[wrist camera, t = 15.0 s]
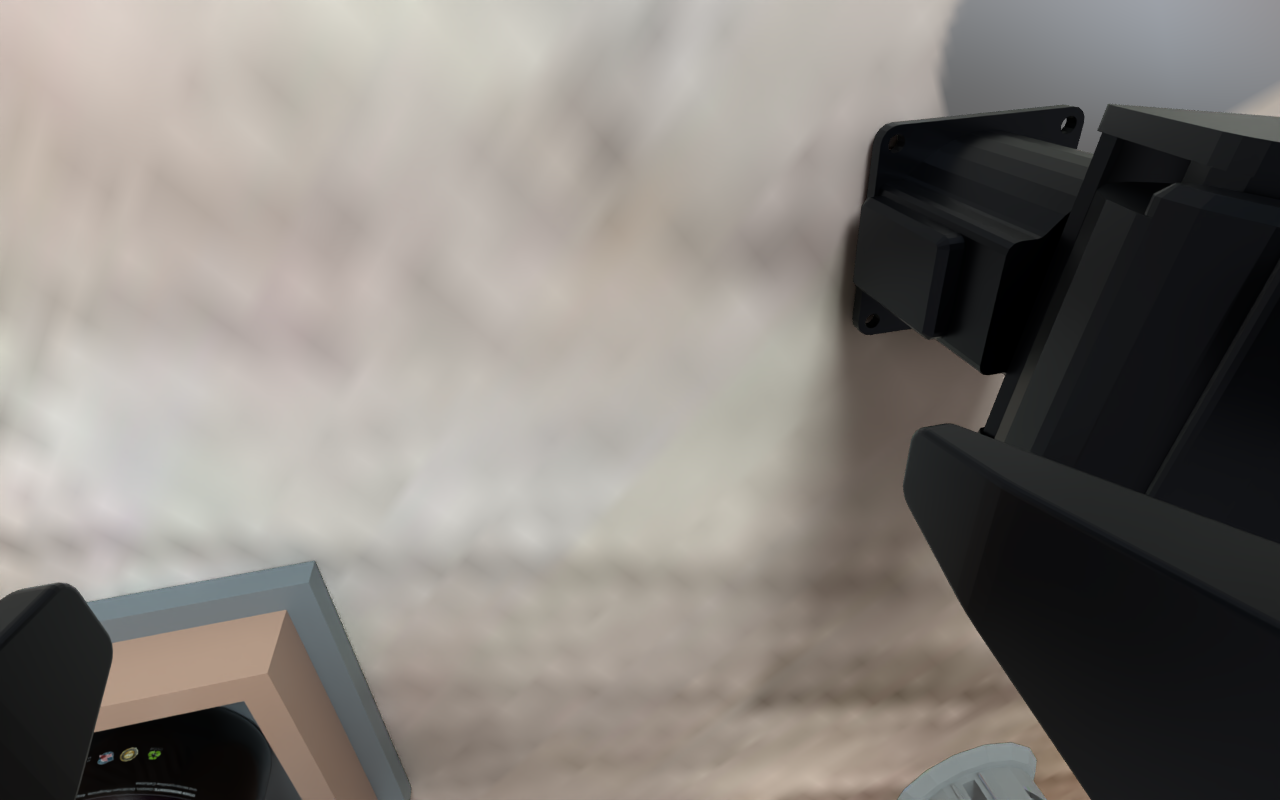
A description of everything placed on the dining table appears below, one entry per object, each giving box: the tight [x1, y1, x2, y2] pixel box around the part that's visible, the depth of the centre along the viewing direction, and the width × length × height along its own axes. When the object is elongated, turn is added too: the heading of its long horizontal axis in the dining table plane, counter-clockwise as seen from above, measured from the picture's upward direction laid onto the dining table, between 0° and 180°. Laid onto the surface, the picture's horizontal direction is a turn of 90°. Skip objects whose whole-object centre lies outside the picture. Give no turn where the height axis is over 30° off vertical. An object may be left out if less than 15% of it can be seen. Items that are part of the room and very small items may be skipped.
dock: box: [86, 561, 411, 800], centre depth 24 cm, size 14×14×4 cm
